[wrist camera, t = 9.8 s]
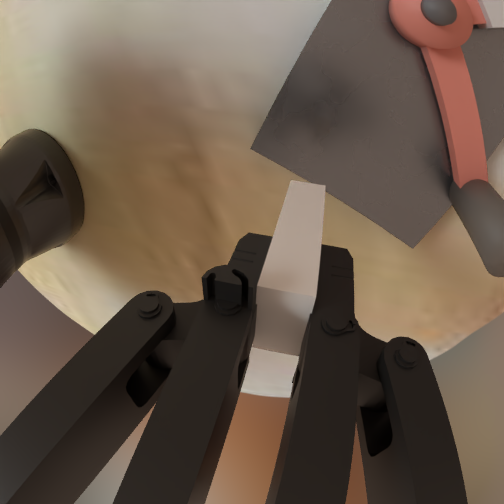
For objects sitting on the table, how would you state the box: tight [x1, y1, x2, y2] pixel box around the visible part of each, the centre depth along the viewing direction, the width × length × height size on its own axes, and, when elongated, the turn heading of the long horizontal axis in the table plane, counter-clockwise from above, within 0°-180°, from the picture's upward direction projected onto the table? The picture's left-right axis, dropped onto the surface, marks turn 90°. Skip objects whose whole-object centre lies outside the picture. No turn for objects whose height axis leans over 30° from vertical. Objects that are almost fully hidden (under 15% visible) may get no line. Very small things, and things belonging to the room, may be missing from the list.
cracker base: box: [250, 0, 504, 249], centre depth 11 cm, size 26×14×6 cm, turn 155°
